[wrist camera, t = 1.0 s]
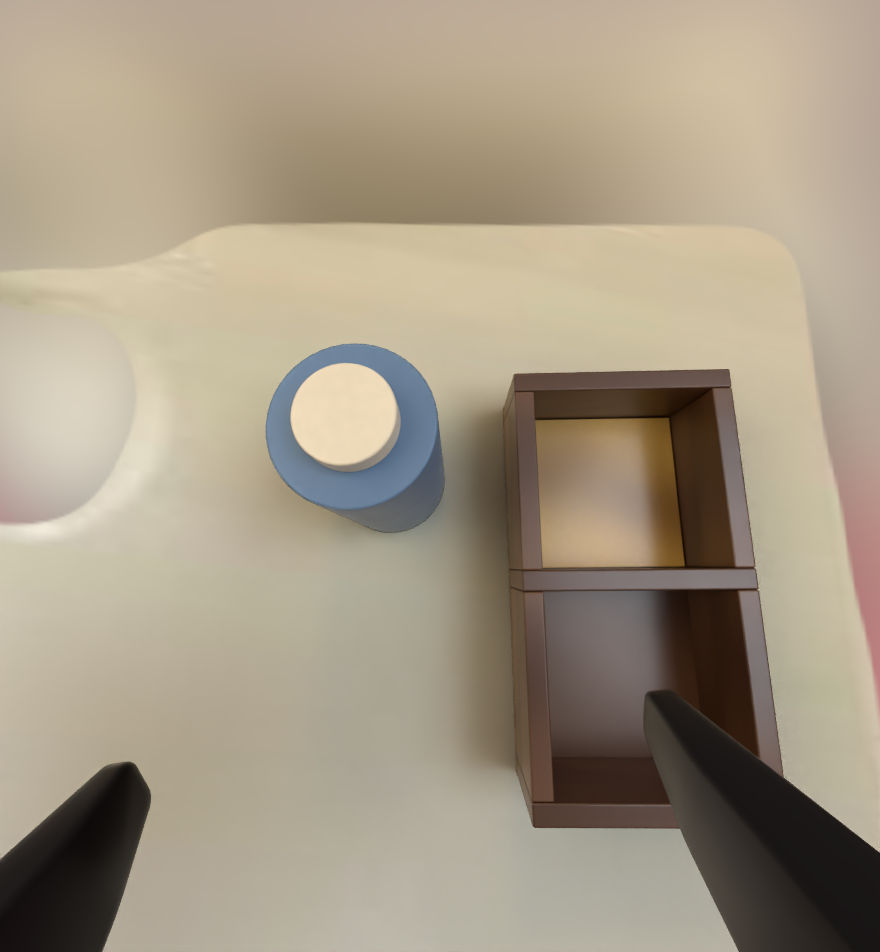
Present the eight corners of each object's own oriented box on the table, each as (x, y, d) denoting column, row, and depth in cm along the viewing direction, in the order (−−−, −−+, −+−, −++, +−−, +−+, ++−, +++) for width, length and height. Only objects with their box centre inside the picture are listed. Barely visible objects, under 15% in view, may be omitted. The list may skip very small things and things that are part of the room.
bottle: (445, 532, 23) (437, 504, 12) (338, 533, 23) (244, 506, 13) (443, 428, 24) (435, 323, 13) (342, 430, 24) (256, 328, 14)
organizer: (719, 773, 20) (791, 830, 16) (516, 772, 21) (532, 828, 16) (678, 405, 24) (730, 368, 19) (502, 408, 24) (513, 373, 19)
